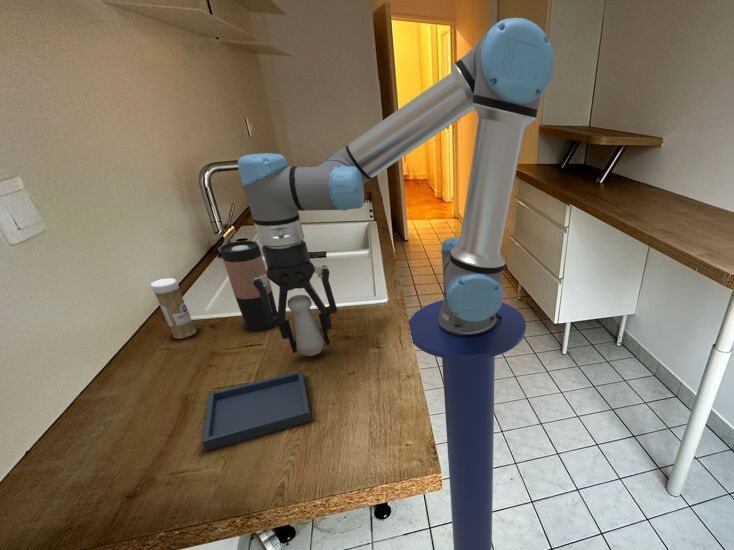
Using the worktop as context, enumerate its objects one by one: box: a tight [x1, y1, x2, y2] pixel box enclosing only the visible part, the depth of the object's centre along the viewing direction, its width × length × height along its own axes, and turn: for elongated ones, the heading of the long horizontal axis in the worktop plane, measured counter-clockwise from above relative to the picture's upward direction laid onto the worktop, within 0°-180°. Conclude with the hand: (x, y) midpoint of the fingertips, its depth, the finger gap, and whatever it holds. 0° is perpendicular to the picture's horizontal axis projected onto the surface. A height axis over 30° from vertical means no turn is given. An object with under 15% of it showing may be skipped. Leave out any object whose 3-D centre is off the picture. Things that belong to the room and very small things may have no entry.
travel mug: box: [219, 240, 278, 332], centre depth 97 cm, size 8×8×20 cm
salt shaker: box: [287, 294, 326, 357], centre depth 86 cm, size 6×6×13 cm
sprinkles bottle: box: [150, 277, 197, 340], centre depth 93 cm, size 5×5×13 cm
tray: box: [202, 370, 312, 452], centre depth 74 cm, size 16×14×2 cm
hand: (311, 345), depth 89 cm, fingers closed on salt shaker, 6 cm apart
